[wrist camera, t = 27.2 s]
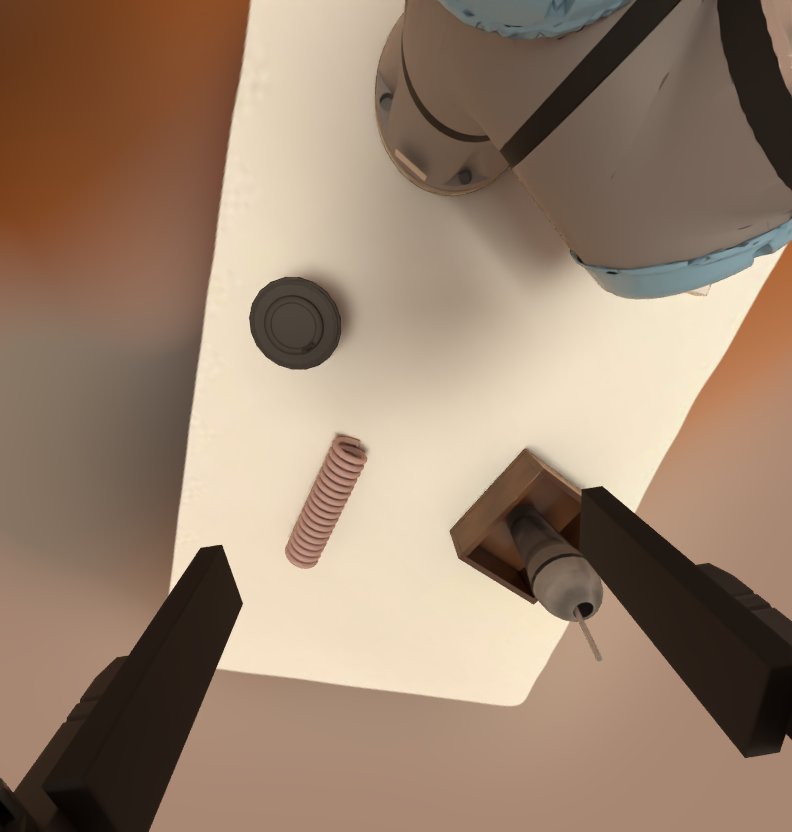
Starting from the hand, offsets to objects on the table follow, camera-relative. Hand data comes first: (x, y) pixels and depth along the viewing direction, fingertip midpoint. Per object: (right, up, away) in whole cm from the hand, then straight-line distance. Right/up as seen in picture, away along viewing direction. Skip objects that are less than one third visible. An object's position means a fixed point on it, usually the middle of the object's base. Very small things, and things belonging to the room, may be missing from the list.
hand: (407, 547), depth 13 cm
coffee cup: (-10, +16, +28) cm, 33 cm away
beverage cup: (+17, -9, +37) cm, 42 cm away
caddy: (+17, -9, +38) cm, 43 cm away
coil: (-10, -6, +35) cm, 37 cm away
